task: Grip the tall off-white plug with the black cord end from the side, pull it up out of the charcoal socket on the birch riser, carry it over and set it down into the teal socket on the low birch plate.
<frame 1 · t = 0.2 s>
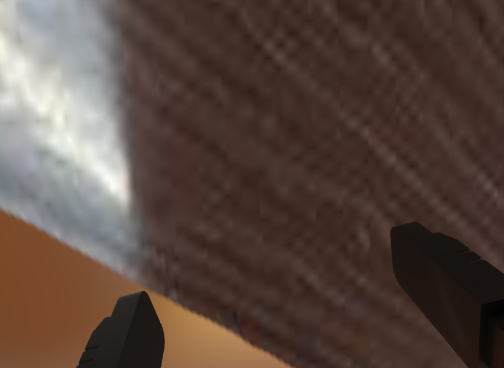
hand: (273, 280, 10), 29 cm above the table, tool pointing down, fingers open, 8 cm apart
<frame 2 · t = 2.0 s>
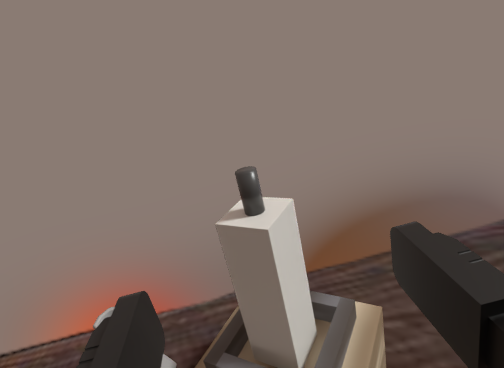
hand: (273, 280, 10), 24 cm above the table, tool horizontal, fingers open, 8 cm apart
plug: (286, 346, 27), point 8 cm above the table, touching upper dock
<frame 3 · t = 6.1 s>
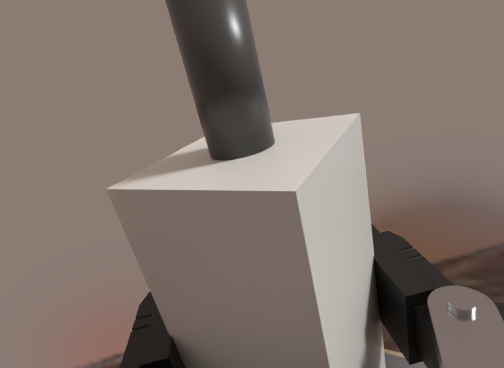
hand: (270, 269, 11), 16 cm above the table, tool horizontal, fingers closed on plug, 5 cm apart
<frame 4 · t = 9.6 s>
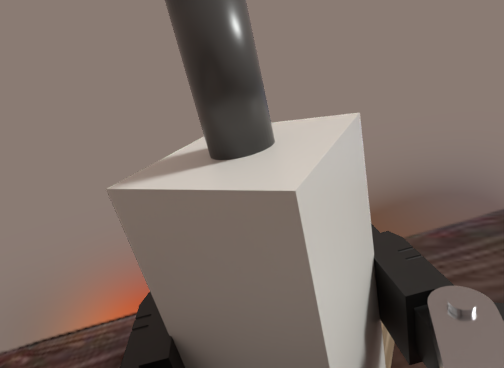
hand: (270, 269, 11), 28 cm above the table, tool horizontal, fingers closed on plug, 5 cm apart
upper dock: (329, 359, 38), on the table
when the fingers open (10 cm above the table, at t = 13.3 s): plug drops 1 cm, resting on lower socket.
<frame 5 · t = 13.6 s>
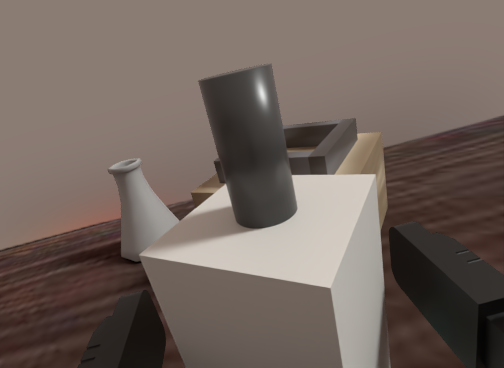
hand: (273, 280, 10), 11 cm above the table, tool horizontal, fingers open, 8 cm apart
upper dock: (306, 236, 31), on the table
flask: (156, 245, 37), on the table
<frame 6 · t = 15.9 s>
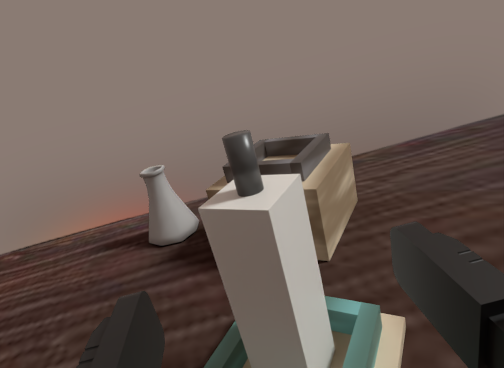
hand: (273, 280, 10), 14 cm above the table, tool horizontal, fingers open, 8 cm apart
upper dock: (293, 224, 40), on the table
flask: (175, 234, 46), on the table
plug: (297, 367, 21), point 1 cm above the table, touching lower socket
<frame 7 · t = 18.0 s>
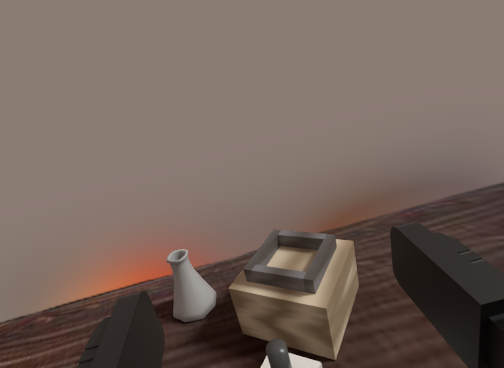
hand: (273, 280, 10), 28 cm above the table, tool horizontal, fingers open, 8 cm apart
upper dock: (302, 308, 46), on the table
flask: (196, 306, 52), on the table
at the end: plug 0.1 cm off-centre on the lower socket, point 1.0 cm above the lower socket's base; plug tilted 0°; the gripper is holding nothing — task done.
